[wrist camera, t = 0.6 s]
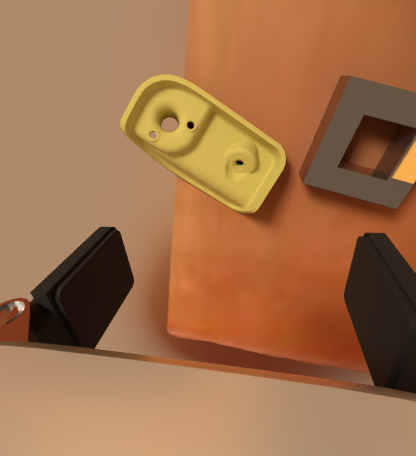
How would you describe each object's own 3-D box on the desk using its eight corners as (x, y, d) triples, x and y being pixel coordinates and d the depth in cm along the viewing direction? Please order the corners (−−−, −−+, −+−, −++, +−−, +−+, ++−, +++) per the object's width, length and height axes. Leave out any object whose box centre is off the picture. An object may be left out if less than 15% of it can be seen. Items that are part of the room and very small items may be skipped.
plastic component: (293, 153, 33) (251, 220, 34) (272, 157, 40) (237, 213, 41) (155, 55, 29) (111, 134, 30) (159, 79, 36) (124, 143, 37)
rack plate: (340, 75, 30) (351, 75, 26) (445, 102, 29) (470, 106, 26) (299, 173, 36) (303, 184, 33) (384, 196, 36) (397, 210, 32)
